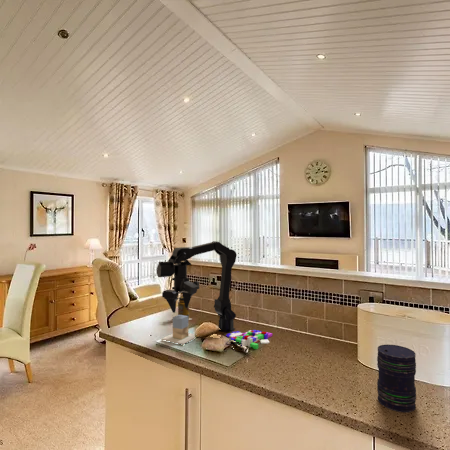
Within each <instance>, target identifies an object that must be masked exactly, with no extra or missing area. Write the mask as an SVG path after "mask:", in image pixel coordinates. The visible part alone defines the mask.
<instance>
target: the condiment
mask: <svg viewBox="0 0 450 450" xmlns="http://www.w3.org/2000/svg"><path fill="white" fill-rule="evenodd" d="M177 315H184V316H188V321H190V320H192V318H191V317H190V304H189V305H188V308H185V305H184V299H183V296H180V297H179V296H178V303H177Z"/></svg>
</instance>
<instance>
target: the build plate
mask: <svg viewBox="0 0 450 450" xmlns="http://www.w3.org/2000/svg"><path fill="white" fill-rule="evenodd" d="M194 338H195V336H194V333H191V332H188V336H187V337H186V338H184V339H177V338H173V333H171V334H168V335H166V336H165V337H164V336H163V337H161V338H160V339H161V340H166V341H170V342H174V343H178V344H182V345H184V344H185V343H187V342H189V341H191V340H193V339H194ZM193 341H194V340H193ZM191 342H192V341H191ZM189 343H190V342H189ZM184 346H185V345H184Z"/></svg>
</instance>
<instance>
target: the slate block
mask: <svg viewBox="0 0 450 450" xmlns="http://www.w3.org/2000/svg"><path fill="white" fill-rule="evenodd" d="M187 326H188V327H189V320H188V316H184V315H178V314H177V315H176V316H173V317H172V329H173V328H178V329H183V328H185V327H187Z"/></svg>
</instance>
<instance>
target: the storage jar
mask: <svg viewBox="0 0 450 450" xmlns="http://www.w3.org/2000/svg"><path fill="white" fill-rule="evenodd" d="M376 357H377V358H376V361H377V363H376V366H377V368H378V378H377V382H376V385H377V386H376V388H377V401H378V403H379V404H380V405H381V406H383V407H384V408H385V409H388V410H391V411H395V412H398V413H412V412H414V411H415V410H416V408H417V407H416V401H417V400H416V399H417V388H416V385H415V383H416V382H415V378H416V377H415V376H416V373H417V362H416V352H415V351H414V350H412V349H410V348H409V347H406V346H402V345H397V344H382V345H378V347H377V356H376Z"/></svg>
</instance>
